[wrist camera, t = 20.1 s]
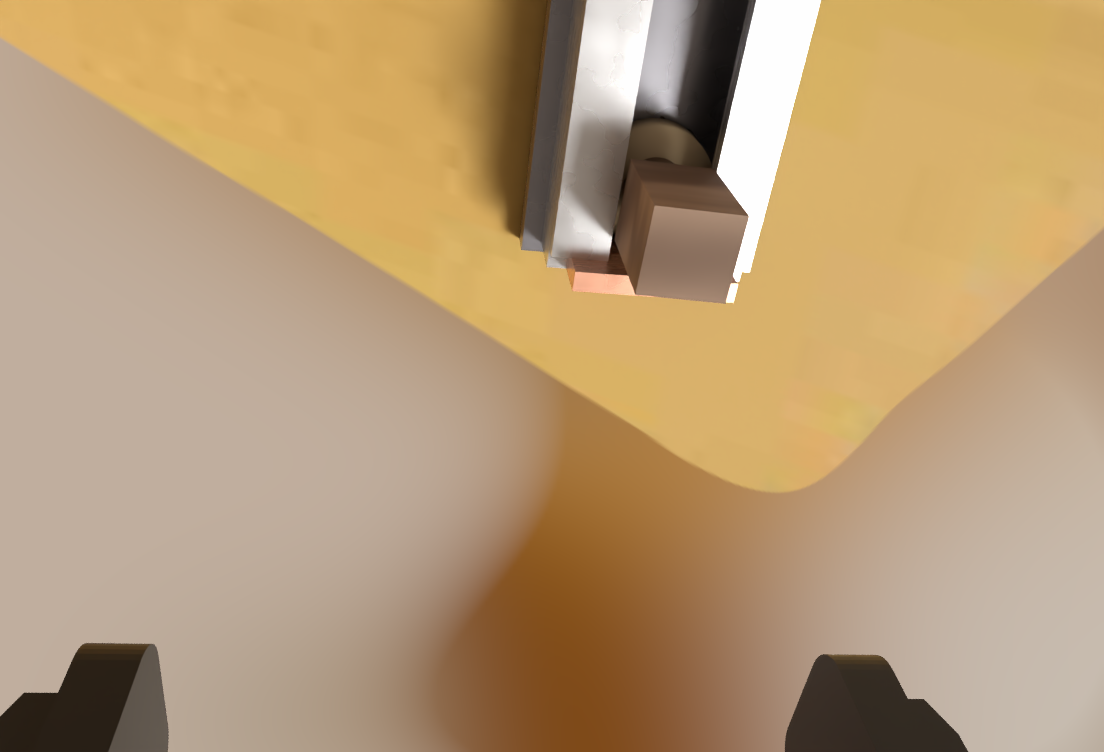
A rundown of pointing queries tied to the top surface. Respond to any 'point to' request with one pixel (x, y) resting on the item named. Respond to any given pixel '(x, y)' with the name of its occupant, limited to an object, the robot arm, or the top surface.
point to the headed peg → (676, 217)
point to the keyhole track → (654, 113)
